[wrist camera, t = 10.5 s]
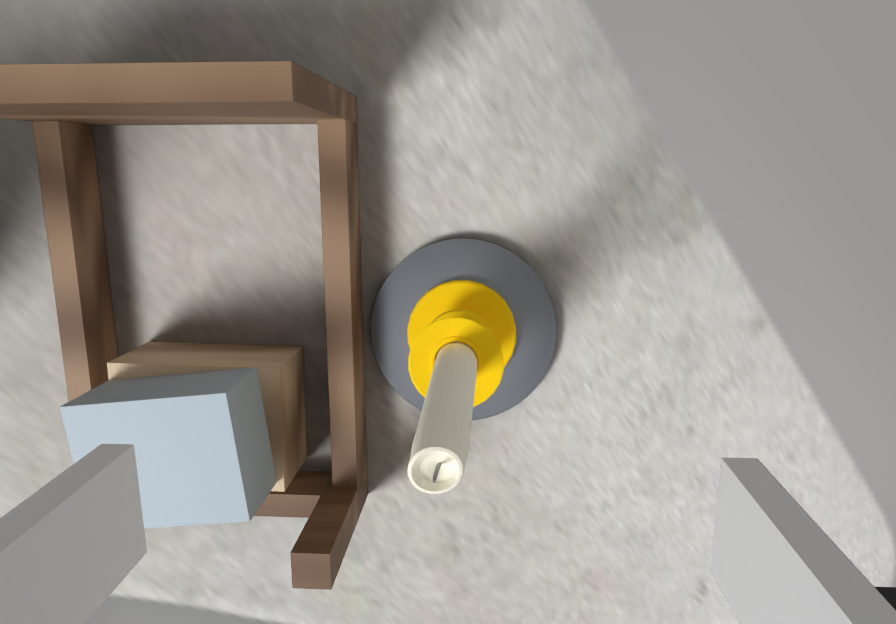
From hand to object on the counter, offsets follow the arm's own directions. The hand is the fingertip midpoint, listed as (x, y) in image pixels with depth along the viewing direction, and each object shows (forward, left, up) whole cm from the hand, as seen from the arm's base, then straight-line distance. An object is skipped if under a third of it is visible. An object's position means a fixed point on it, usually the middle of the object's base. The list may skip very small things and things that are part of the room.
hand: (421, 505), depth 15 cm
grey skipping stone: (0, 0, -18) cm, 18 cm away
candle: (0, 0, -18) cm, 18 cm away
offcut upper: (+4, -12, -14) cm, 19 cm away
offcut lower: (+4, -12, -18) cm, 22 cm away
